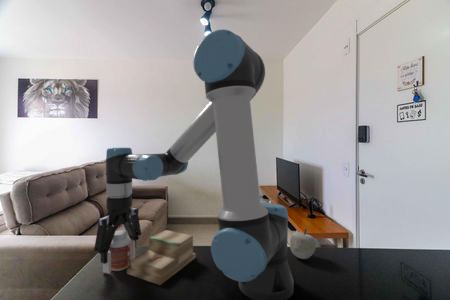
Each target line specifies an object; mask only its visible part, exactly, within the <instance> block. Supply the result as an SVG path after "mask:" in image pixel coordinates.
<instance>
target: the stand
mask: <svg viewBox="0 0 450 300" xmlns="http://www.w3.org/2000/svg"><path fill="white" fill-rule="evenodd" d="M148 240H149V249H148V250H146V251H144V252H142V253H141V254H139V255H137V256H135V258H133V259H131V260H130V266H129V267H127V268H126V274H127V275H130V276H133V277H135V278H138V279H141V280H144V281H146V282H150V283H153V284H156V285H158V286H161V285H162V284H164V283H166V281H168V280H169V279H170V278H172V276H175V274H177V273H178V272H179V271H181V270H182V269H183V268H184V267H185V266H187V265H188V264H190V263H191V262H192V261H193V260H195V258H197V257H196V255H197V254H196V253H195V252H193V251H194V236H193V235H192V234H187V233H182V232H177V231H174V230H173V231H172V230H167V229H164V230H163V231H160V232H158V233H156V234H154V235H152V236H150V237H149V239H148Z"/></svg>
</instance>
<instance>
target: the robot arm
mask: <svg viewBox="0 0 450 300" xmlns="http://www.w3.org/2000/svg"><path fill="white" fill-rule="evenodd" d="M192 63H193V70H194V72H195V74H196V76H197V77H198V78H199V79H200V80H201V81H202V82H204V89H205V90H204V92H205V98H206V99H207V100H208V101H209V103H207V105H206V106H205V107H204V108H203V109H202V110H201V112H200V113H199V114H198V115H197V116H196V117H195V118H194V120H193V121H192V122H191V123H190V124H189V126H188V127H187V128H186V129H185V130H184V131H183V133H182V134H181V135H180V136H179V137H178V138H177V139H176V140H175V142H174V143H173V144H172V145H171V146H170V148H168V150H166V152H165V153H145V154H143V153H142V154H141V153H137V154H135V153H134V154H133V150H132V148H131V147H108V148H107V149H106V153H105V154H106V157H105V158H106V159H105V173H106V174H105V178H106V188H105V189H106V192H105V193H106V210H107V213H106V215H105V216H104V217H98V218H97V231H96V236H95V237H96V238H95V243H94V248H93V252H94V253H98V254H100V264H102V273H105V274H108V275H110V274H111V273H112V270H111V252H110V251H109V248H110V245H111V242H112V240H113V237H114V234H115V231H118V229H119V227H120V226H122V225H123V226H124V230H126V231H127V232H128V235H127V236H128V238H129V239H130V261H131V259H133V258H135V257H136V248H137V241H138V240H139V239H140V236H141V235H142V230H141V224H140V219H139V218H140V217H139V208H136V207H132V206H133V195H132V194H133V180H138V181H139V180H140V181H142V182H143V181H145V182H147V181H156V180H157V179H158V178H160V177H161V178H162V177H166V176H174V175H175V176H176V175H179V174H182V173H184V172H185V171H186V170H187V169H188V165H189V160H191V158H192V157H194V156H195V155H196V153H197V152H198V151H199V150H200V149H201V148H202V147H203V146H204V145H206V143H207V142H208V141H209V140H210V139H211V137H212V136H214V134H215V135H216V147H217V155H218V157H217V158H218V166H219V176H220V177H219V178H220V185H221V188H220V189H221V196H222V208H221V209H220V210H219V212H218V213H217V225H218V226H217V227H218V231H217V232H216V233H215V235H214V236H213V237H212V240H211V243H210V252H211V257H212V259H213V262H214V264H215V266H216V267H217V268H218V270H220V271H222V274H224V276H225V277H227V278H229V279H231V280H233V281H236V282H238V287H239V290H240V292H241V293H242V294H243V295H245V296H246V297H247V298H249V299H251V300H289V299H290V298H291V297H292V296H293V294H294V289H295V288H294V284H295V283H294V278H293V275H292V271H291V269H290V266H289V261H288V235H289V234H288V232H289V231H288V229H289V227H288V226H289V215H288V209H287V207H285V206H284V205H282V204H278V203H273V202H262V201H261V195H260V194H261V193H260V187H259V186H260V185H259V175H258V174H259V173H258V165H257V156H256V147H255V137H254V125H253V117H252V108H251V107H252V106H251V101H252V100H253V99H254V97H255V96H256V95H257V94H258V92H259V90H260V89H261V88H262V86H263V85H264V84H263V83H264V81H265V77H266V68H265V67H266V66H265V63H264V60H263V59H262V57H261V56H260V55H259V54H258V53H257V52H256V51H254V49H253V48H252V47H251V46H249V45H248V44H247V43H246V42H245V41H244V40H243V38H242V37H241V36H239V35H238V34H236V33H234V32H233V31H231V30H229V29H216V30H214V31H211V32H210V33H208V34H207V35H206V36H204V37H203V38H202V40H201V41H200V43H199V45H197V47H196V49H195V52H194V54H193V62H192Z"/></svg>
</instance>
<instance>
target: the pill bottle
mask: <svg viewBox="0 0 450 300" xmlns="http://www.w3.org/2000/svg"><path fill="white" fill-rule="evenodd" d="M128 236H129V235H128V232H127V231H126V229H119V230H116V231H115V234H114V237H113V240H112V242H111V245H110V248H109V251H110V252H111V271H114V272H120V271H123V270H125V269H126V270H127V269H128V268H129V267H130V266H131V260H130V239H131V238H130V237H128Z"/></svg>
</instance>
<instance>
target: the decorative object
mask: <svg viewBox="0 0 450 300" xmlns="http://www.w3.org/2000/svg"><path fill="white" fill-rule="evenodd" d="M289 248H290V251H291V253H292V254H293V255H294V256H295V257H297V258H298V259H302V260H307V259H310V258H311V257H312V255H313V254H314V253H315V252H316V248H317V240H316V239H315V237H314V236H312V235H310V234H307V228H304V230H303V232H301V231H295V232H293V233H292V234H291V235H290V238H289Z"/></svg>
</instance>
